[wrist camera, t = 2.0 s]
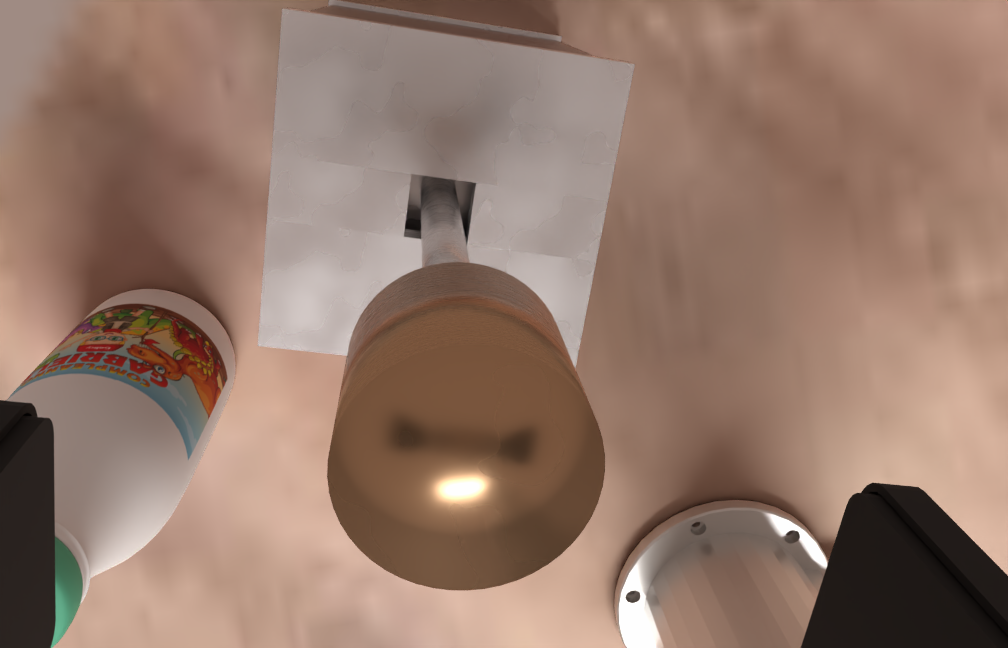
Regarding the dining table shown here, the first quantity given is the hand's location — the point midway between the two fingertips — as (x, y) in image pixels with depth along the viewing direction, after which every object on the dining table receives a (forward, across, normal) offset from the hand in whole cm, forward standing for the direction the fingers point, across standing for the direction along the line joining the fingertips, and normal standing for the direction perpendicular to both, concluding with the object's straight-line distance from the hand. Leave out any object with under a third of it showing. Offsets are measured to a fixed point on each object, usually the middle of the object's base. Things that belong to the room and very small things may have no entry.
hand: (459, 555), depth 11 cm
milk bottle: (+35, +11, +14) cm, 40 cm away
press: (+35, -1, +2) cm, 35 cm away
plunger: (+23, 0, +1) cm, 23 cm away
